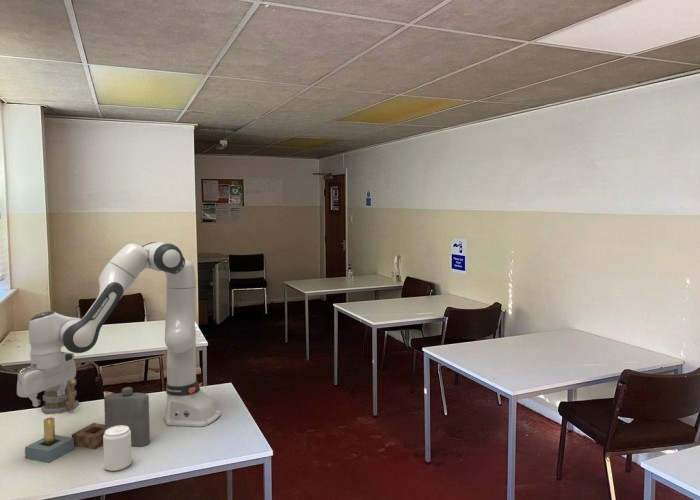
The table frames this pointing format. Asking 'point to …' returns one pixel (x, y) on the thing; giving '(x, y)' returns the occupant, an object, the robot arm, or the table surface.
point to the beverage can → (117, 448)
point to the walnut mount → (90, 436)
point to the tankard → (60, 399)
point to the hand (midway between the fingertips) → (49, 400)
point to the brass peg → (49, 431)
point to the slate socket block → (49, 449)
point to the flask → (129, 414)
